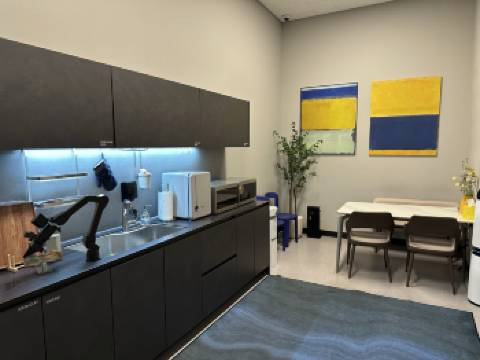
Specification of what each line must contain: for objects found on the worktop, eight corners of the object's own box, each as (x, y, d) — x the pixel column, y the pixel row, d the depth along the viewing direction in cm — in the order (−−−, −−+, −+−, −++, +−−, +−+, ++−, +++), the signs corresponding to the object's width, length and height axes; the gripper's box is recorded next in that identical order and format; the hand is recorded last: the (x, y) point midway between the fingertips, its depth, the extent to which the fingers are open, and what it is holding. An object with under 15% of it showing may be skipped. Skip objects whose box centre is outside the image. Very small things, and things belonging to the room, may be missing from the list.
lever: (61, 257, 191) (59, 248, 191) (63, 260, 186) (62, 250, 185) (24, 266, 181) (22, 256, 180) (25, 270, 175) (23, 259, 174)
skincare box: (58, 261, 199) (56, 236, 198) (46, 262, 198) (44, 237, 196) (62, 256, 207) (60, 233, 206) (51, 257, 206) (49, 233, 204)
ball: (54, 255, 188) (54, 248, 188) (58, 256, 187) (58, 249, 186) (47, 257, 185) (47, 250, 185) (51, 258, 183) (51, 251, 183)
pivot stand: (50, 266, 190) (49, 256, 189) (53, 271, 181) (52, 260, 181) (35, 269, 186) (34, 258, 185) (38, 274, 177) (37, 263, 177)
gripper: (31, 222, 187) (8, 245, 181) (35, 227, 172) (10, 252, 166) (48, 234, 192) (26, 256, 186) (53, 240, 177) (30, 265, 171)
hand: (23, 257), depth 177 cm, fingers closed, pressing on lever
